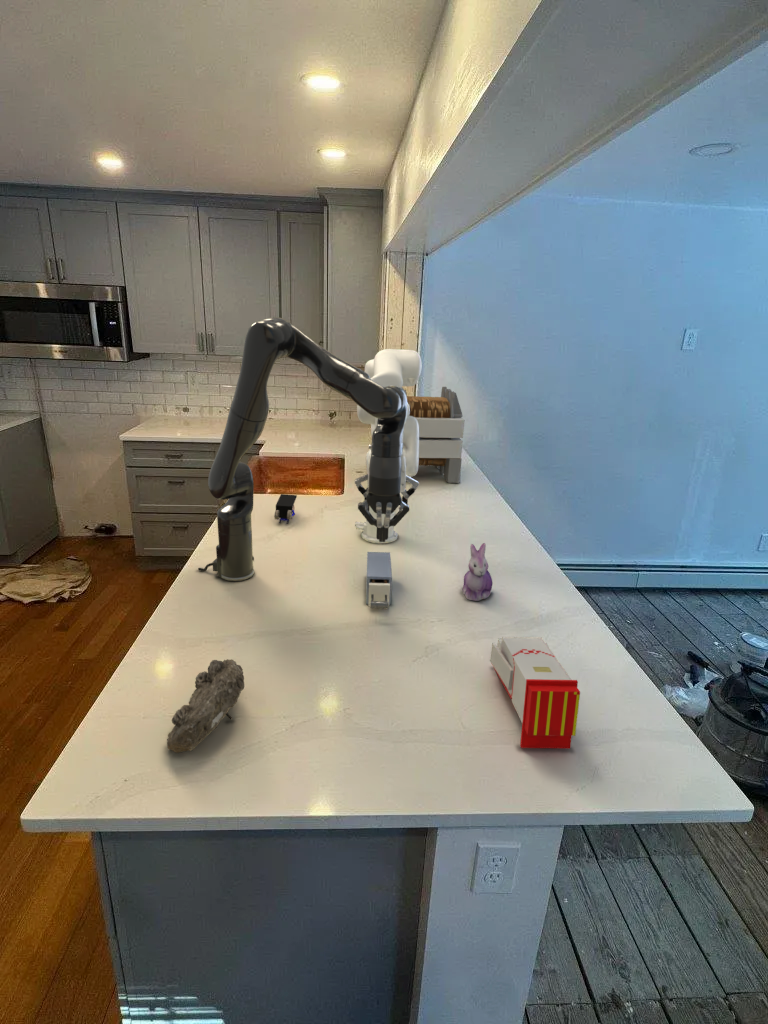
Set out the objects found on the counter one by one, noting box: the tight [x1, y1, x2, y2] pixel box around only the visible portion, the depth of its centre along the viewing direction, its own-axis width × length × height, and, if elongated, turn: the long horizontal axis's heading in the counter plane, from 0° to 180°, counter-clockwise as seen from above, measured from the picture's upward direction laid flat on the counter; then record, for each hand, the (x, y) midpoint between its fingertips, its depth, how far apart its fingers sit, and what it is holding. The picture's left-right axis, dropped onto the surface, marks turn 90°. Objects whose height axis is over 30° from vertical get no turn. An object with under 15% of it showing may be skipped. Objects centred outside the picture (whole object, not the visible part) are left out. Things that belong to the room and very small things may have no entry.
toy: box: [489, 636, 581, 749], centre depth 115 cm, size 12×13×30 cm
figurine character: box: [274, 493, 298, 525], centre depth 208 cm, size 7×8×15 cm
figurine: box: [462, 542, 493, 602], centre depth 157 cm, size 9×10×15 cm
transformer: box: [401, 386, 465, 484], centre depth 268 cm, size 34×33×41 cm
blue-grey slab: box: [365, 551, 393, 606], centre depth 158 cm, size 16×7×8 cm, turn 1°
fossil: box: [166, 658, 245, 754], centre depth 106 cm, size 22×10×15 cm
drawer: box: [367, 579, 390, 609], centre depth 152 cm, size 21×5×6 cm, turn 1°
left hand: (382, 540), depth 139 cm, fingers closed
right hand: (385, 510), depth 155 cm, fingers open, 9 cm apart
